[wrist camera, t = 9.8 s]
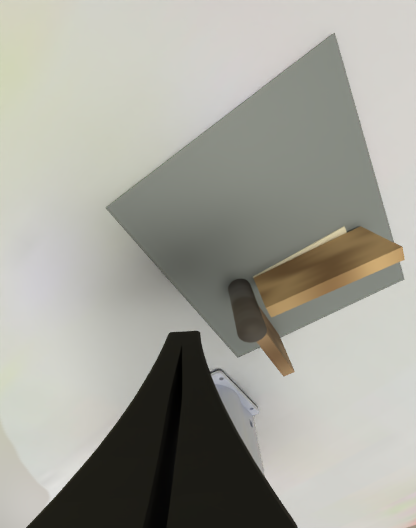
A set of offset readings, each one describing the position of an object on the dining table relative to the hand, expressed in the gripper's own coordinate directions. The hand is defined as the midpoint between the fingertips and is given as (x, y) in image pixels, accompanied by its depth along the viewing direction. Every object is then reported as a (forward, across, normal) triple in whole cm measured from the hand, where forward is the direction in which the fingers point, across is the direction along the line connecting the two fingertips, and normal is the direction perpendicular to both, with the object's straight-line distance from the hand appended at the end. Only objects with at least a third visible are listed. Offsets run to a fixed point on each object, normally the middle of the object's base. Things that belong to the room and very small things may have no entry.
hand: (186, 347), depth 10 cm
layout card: (+9, -6, -1) cm, 11 cm away
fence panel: (+9, -9, 0) cm, 13 cm away
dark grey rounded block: (+9, -6, +6) cm, 12 cm away
